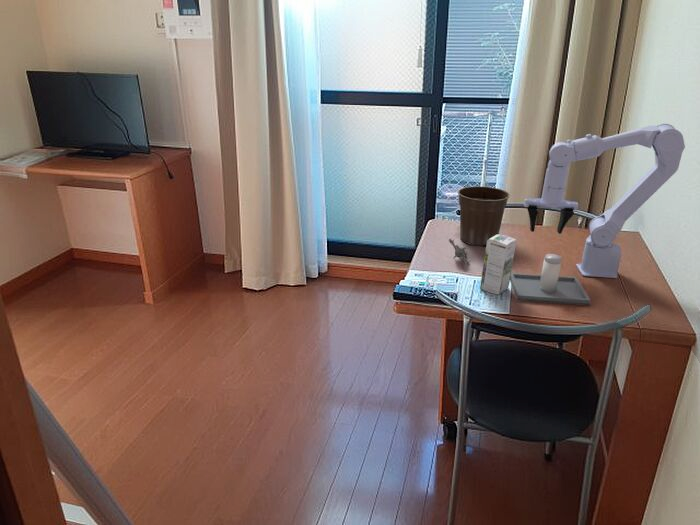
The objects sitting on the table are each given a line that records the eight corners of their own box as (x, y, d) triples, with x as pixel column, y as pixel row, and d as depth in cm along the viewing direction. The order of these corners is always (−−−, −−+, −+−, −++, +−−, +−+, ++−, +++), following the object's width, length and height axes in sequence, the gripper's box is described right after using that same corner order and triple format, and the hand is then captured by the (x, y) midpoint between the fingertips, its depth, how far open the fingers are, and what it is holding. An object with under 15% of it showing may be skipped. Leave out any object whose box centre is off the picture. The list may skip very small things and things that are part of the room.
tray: (575, 281, 150) (576, 277, 149) (589, 305, 137) (590, 300, 137) (509, 277, 152) (509, 272, 151) (517, 300, 139) (517, 295, 139)
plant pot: (448, 243, 175) (452, 196, 169) (458, 228, 189) (463, 183, 182) (499, 252, 169) (505, 202, 163) (506, 235, 183) (513, 189, 177)
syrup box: (489, 282, 149) (495, 233, 143) (509, 288, 146) (516, 238, 140) (479, 289, 145) (486, 238, 139) (500, 295, 142) (507, 244, 136)
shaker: (553, 285, 146) (559, 254, 143) (558, 292, 142) (564, 260, 139) (537, 284, 147) (542, 253, 143) (541, 291, 143) (546, 259, 139)
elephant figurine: (481, 259, 164) (476, 259, 156) (465, 271, 166) (460, 272, 158) (461, 233, 166) (455, 232, 158) (445, 245, 168) (439, 245, 160)
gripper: (530, 188, 148) (522, 234, 154) (585, 192, 147) (574, 238, 152) (526, 181, 155) (518, 226, 160) (578, 185, 153) (568, 229, 159)
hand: (545, 231), depth 157 cm, fingers open, 7 cm apart
